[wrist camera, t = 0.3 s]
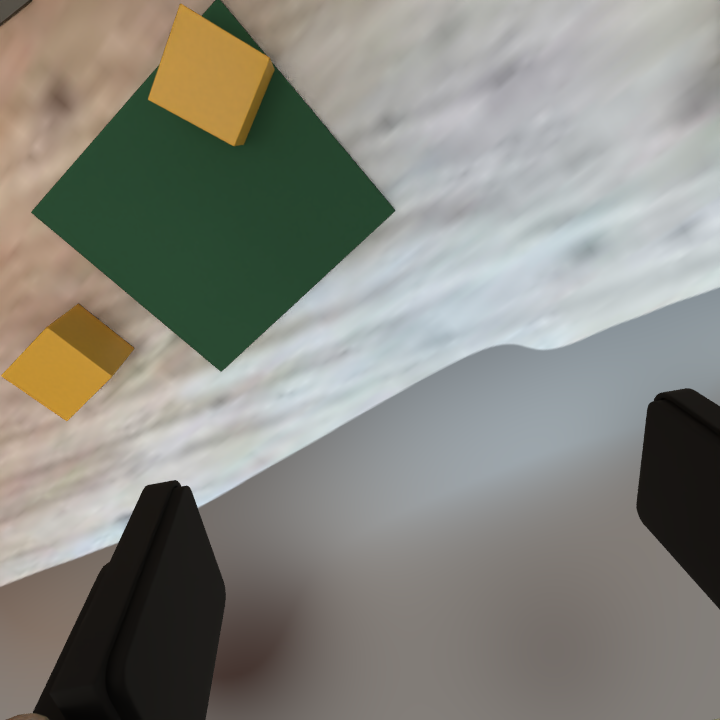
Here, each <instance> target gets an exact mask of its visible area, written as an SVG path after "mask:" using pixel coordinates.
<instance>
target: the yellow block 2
mask: <svg viewBox="0 0 720 720" xmlns="http://www.w3.org/2000/svg"><path fill="white" fill-rule="evenodd" d="M274 70H275V69H274V67H273V64H272V62H271V59H270V58H269V57H268V56H266V55H265V54H263V53H261V52H260V51H258V50H256V49H255V48H253V47H251V46H250V45H248V44H246V43H245V42H243V41H242V40H240V39H238V38H237V37H235V36H233V35H232V34H230V33H228V32H227V31H225V30H223V29H222V28H220V27H218V26H217V25H215V24H214V23H212V22H210V21H209V20H207V19H205V18H204V17H202V16H200V15H199V14H197V13H195V12H194V11H192V10H191V9H189V8H187V7H186V6H184V5H182V4H180V6H179V9H178V12H177V14H176V17H175V20H174V23H173V26H172V29H171V32H170V35H169V38H168V41H167V44H166V47H165V50H164V53H163V56H162V59H161V62H160V65H159V68H158V71H157V73H156V76H155V79H154V82H153V85H152V88H151V91H150V94H149V97H148V100H149V101H151V102H153V103H155V104H157V105H159V106H160V107H162V108H164V109H166V110H168V111H170V112H171V113H173V114H175V115H177V116H179V117H181V118H182V119H184V120H186V121H188V122H190V123H192V124H194V125H195V126H197V127H199V128H201V129H203V130H205V131H206V132H208V133H210V134H212V135H214V136H216V137H218V138H219V139H221V140H223V141H225V142H227V143H229V144H230V145H232V146H239V145H244V143H245V141H246V138H247V136H248V133H249V131H250V128H251V126H252V124H253V121H254V119H255V116H256V114H257V111H258V109H259V107H260V104H261V102H262V99H263V97H264V95H265V92H266V90H267V87H268V85H269V82H270V80H271V78H272V75H273V73H274Z"/></svg>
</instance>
